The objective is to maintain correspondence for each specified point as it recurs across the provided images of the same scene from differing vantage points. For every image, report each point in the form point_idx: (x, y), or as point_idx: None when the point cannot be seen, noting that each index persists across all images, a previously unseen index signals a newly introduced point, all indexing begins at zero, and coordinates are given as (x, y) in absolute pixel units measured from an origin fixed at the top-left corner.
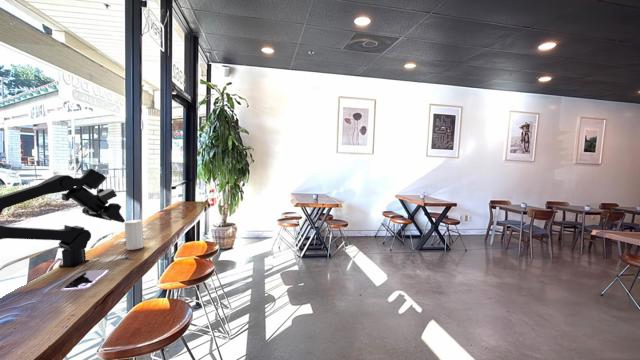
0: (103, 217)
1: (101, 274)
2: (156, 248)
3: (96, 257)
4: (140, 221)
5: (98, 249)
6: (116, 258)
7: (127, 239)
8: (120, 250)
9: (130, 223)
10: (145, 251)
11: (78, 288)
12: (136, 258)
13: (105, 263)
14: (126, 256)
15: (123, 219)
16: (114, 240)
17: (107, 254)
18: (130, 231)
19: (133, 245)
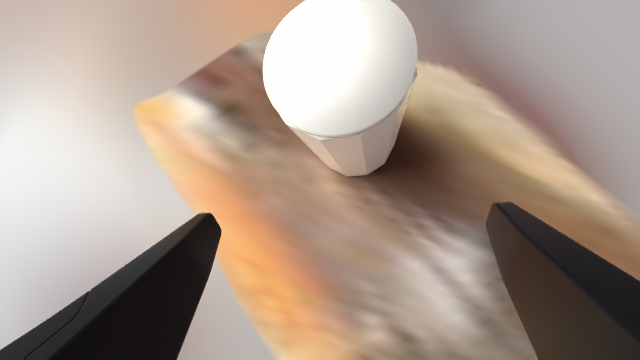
0: (175, 331)
1: None
2: (476, 90)
3: (352, 316)
4: (408, 21)
5: (234, 242)
6: (463, 282)
7: (358, 165)
8: (341, 200)
9: (389, 114)
10: (478, 145)
11: None
12: (568, 233)
13: (502, 355)
14: (476, 239)
15: (547, 233)
16: (164, 136)
17: (351, 265)
18: (383, 141)
19: (387, 155)
